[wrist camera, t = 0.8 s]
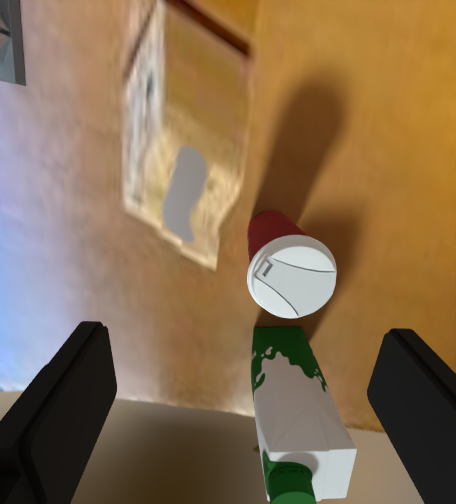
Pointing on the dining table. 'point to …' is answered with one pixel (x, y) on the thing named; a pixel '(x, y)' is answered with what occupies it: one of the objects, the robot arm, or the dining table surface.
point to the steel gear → (3, 37)
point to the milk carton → (297, 421)
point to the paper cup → (288, 267)
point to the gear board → (13, 45)
